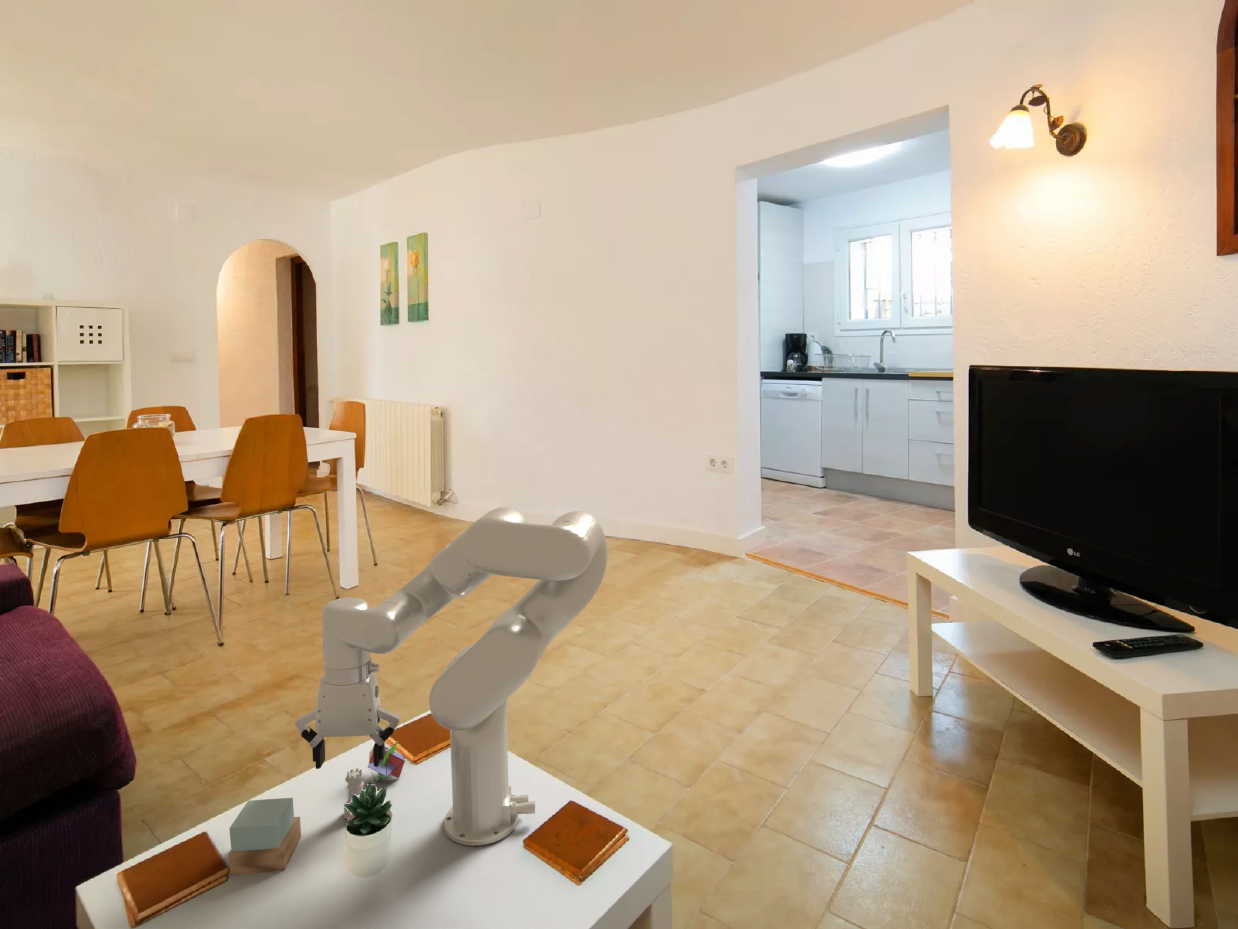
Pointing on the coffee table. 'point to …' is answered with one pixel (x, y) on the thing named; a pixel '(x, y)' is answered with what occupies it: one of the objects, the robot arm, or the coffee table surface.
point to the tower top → (262, 824)
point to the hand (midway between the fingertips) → (349, 763)
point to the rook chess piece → (354, 786)
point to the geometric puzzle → (388, 763)
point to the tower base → (267, 855)
